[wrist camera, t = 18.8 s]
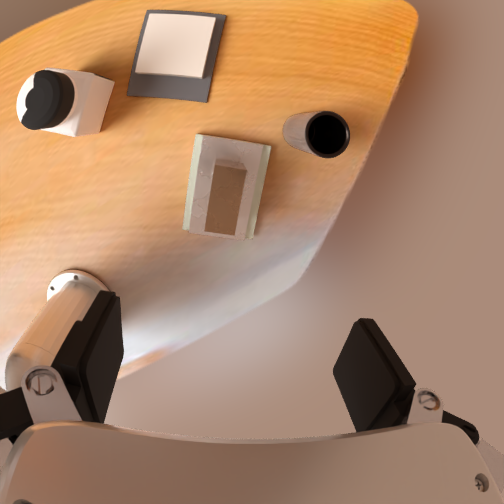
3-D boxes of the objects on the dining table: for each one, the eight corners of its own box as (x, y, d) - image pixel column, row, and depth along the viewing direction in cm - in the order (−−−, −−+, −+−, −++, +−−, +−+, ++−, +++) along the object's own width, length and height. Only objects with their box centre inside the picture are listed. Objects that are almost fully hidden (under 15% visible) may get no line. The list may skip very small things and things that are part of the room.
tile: (201, 77, 29) (215, 17, 26) (134, 72, 28) (149, 13, 25) (202, 79, 31) (215, 21, 28) (138, 74, 30) (152, 17, 26)
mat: (206, 102, 32) (206, 102, 32) (127, 95, 31) (126, 95, 30) (225, 16, 28) (225, 15, 28) (147, 10, 26) (147, 10, 26)
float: (243, 238, 39) (248, 259, 33) (189, 230, 37) (183, 250, 32) (262, 144, 34) (270, 149, 28) (203, 135, 33) (199, 137, 27)
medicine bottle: (116, 80, 30) (74, 66, 19) (100, 134, 32) (53, 141, 21) (71, 73, 28) (20, 62, 17) (56, 124, 31) (2, 131, 20)
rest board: (251, 235, 40) (252, 239, 39) (183, 226, 38) (182, 229, 37) (269, 145, 35) (271, 146, 34) (196, 133, 34) (195, 133, 33)
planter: (280, 147, 36) (302, 155, 26) (283, 111, 34) (306, 107, 24) (315, 150, 36) (347, 161, 27) (319, 116, 34) (352, 115, 25)
